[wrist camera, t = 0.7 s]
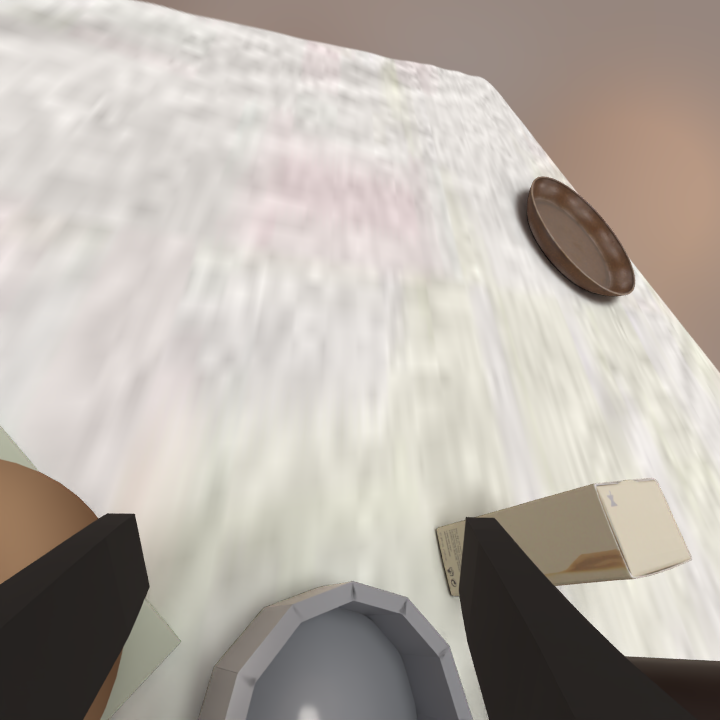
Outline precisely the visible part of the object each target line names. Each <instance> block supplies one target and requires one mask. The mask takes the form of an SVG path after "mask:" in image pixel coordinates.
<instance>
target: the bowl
mask: <svg viewBox="0 0 720 720" xmlns="http://www.w3.org/2000/svg"><path fill="white" fill-rule="evenodd" d="M198 720H473V718H472V715H471V712H470V709H469V706H468V702H467V699H466V696H465V693H464V690H463V687H462V684H461V681H460V677H459V674H458V671H457V668H456V665H455V662H454V659H453V656H452V652H451V649H450V646H449V645H448V644H447V643H446V641H445V640H444V639H443V638H442V637H441V636H440V634H439V633H438V632H437V631H436V630H435V629H434V628H433V626H432V625H431V624H430V623H429V622H428V621H427V619H426V618H425V617H424V616H423V615H422V614H421V613H420V611H419V610H418V609H417V608H416V607H415V606H414V604H413V603H412V602H411V601H410V600H409V599H408V597H405V596H401V595H398V594H395V593H391V592H388V591H384V590H381V589H378V588H374V587H371V586H368V585H364V584H361V583H357V582H354V581H351V582H345V583H339V584H333V585H327V586H322V587H317V588H315V589H312V590H309V591H307V592H304V593H301V594H299V595H296V596H293V597H291V598H288V599H285V600H283V601H280V602H277V603H275V604H272V605H269V606H267V607H264V608H263V609H262V610H261V612H260V613H259V614H258V615H257V616H256V618H255V619H254V620H253V621H252V622H251V623H250V625H249V626H248V627H247V628H246V629H245V631H244V632H243V633H242V634H241V635H240V636H239V638H238V639H237V640H236V641H235V642H234V644H233V645H232V646H231V647H230V648H229V650H228V651H227V652H226V653H225V654H224V655H223V657H222V658H221V659H220V660H219V661H218V663H217V664H216V665H215V666H214V669H213V672H212V675H211V679H210V682H209V685H208V688H207V692H206V695H205V698H204V702H203V705H202V708H201V712H200V715H199V718H198Z"/></svg>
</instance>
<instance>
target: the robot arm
mask: <svg viewBox="0 0 720 720" xmlns="http://www.w3.org/2000/svg"><path fill="white" fill-rule="evenodd" d="M149 587H150V586H149V581H148V576H147V571H146V567H145V562H144V557H143V552H142V547H141V542H140V537H139V532H138V527H137V522H136V518H135V514H106V515H104V516H102V517H101V518H99V519H97V520H96V521H94V522H92V523H91V524H89V525H88V526H86V527H85V528H83V529H82V530H80V531H79V532H77V533H76V534H74V535H73V536H71V537H70V538H68V539H67V540H65V541H64V542H62V543H61V544H59V545H58V546H56V547H55V548H53V549H52V550H51V551H49V552H48V553H46V554H45V555H43V556H42V557H40V558H39V559H37V560H36V561H34V562H33V563H31V564H30V565H28V566H27V567H25V568H24V569H22V570H21V571H19V572H18V573H16V574H15V575H13V576H12V577H10V578H9V579H7V580H6V581H4V582H3V583H1V584H0V720H83V719H84V717H85V716H86V714H87V712H88V710H89V708H90V707H91V705H92V703H93V701H94V699H95V698H96V696H97V694H98V692H99V690H100V689H101V687H102V685H103V683H104V681H105V680H106V678H107V676H108V674H109V672H110V671H111V669H112V667H113V665H114V663H115V661H116V660H117V658H118V656H119V654H120V652H121V650H122V649H123V647H124V645H125V643H126V641H127V639H128V637H129V635H130V633H131V631H132V628H133V626H134V624H135V621H136V619H137V617H138V614H139V612H140V609H141V607H142V604H143V602H144V599H145V597H146V594H147V592H148V589H149ZM459 596H460V602H461V608H462V614H463V620H464V626H465V631H466V637H467V642H468V646H469V649H470V653H471V657H472V660H473V664H474V667H475V671H476V675H477V678H478V682H479V685H480V689H481V692H482V696H483V699H484V703H485V707H486V710H487V714H488V717H489V720H698V719H697V718H695V717H694V716H693V715H692V714H691V713H689V712H688V711H687V710H686V709H684V708H683V707H682V706H681V705H680V704H678V703H677V702H676V701H675V700H674V699H673V698H671V697H670V696H669V695H668V694H667V693H666V692H665V691H663V690H662V689H661V688H660V687H659V686H658V685H657V684H655V683H654V682H653V681H652V680H651V679H650V678H648V677H647V676H646V675H645V674H644V673H643V672H642V671H640V670H639V669H638V668H637V667H636V666H635V665H634V664H633V663H631V662H630V661H629V660H628V659H627V658H626V657H625V656H624V655H623V654H622V653H621V652H620V651H618V650H617V649H616V648H615V647H614V646H613V645H612V644H611V643H610V642H609V641H608V640H607V639H606V638H605V637H604V636H603V635H602V634H601V633H600V632H599V631H598V630H597V629H596V628H595V627H594V626H593V625H592V624H591V623H590V622H589V621H588V620H587V619H586V618H585V617H584V616H583V615H582V614H581V613H580V612H579V611H578V610H577V609H576V608H575V607H574V606H573V605H572V604H571V603H570V602H569V601H568V600H567V599H566V597H565V596H564V595H563V594H562V593H561V592H560V591H559V590H558V589H557V588H556V587H555V586H554V585H553V584H552V582H551V581H550V580H549V579H548V578H547V577H546V576H545V575H544V574H543V573H542V572H541V570H540V569H539V568H538V567H537V566H536V565H535V564H534V563H533V561H532V560H531V559H530V558H529V557H528V556H527V555H526V553H525V552H524V551H523V550H522V549H521V548H520V547H519V545H518V544H517V543H516V542H515V541H514V540H513V538H512V537H511V536H510V535H509V534H508V533H507V531H506V530H505V529H504V528H503V527H502V526H501V524H500V523H499V522H498V521H497V520H496V519H495V518H480V517H466V521H465V531H464V541H463V551H462V561H461V571H460V581H459Z"/></svg>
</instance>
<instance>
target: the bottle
mask: <svg viewBox="0 0 720 720" xmlns="http://www.w3.org/2000/svg"><path fill="white" fill-rule="evenodd" d="M625 657H626V658H627V659H628V660H629V661H630V662H631V663H633V664H634V665H635V666H636V667H637V668H638V669H639V670H640V671H642V672H643V673H644V674H645V675H646V676H647V677H648V678H650V679H651V680H652V681H653V682H654V683H655V684H657V685H658V686H659V687H660V688H661V689H662V690H663V691H665V692H666V693H667V694H668V695H669V696H670V697H671V698H673V699H674V700H675V701H676V702H677V703H678V704H680V705H681V706H682V707H683V708H684V709H686V710H687V711H688V712H689V713H691V714H692V715H693V716H694V717H695V718H697V719H698V720H720V661H706V660H687V659H667V658H647V657H627V656H625Z"/></svg>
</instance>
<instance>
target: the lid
mask: <svg viewBox="0 0 720 720" xmlns="http://www.w3.org/2000/svg"><path fill="white" fill-rule="evenodd" d="M97 519H98V518H97V516H96V515H95V514H94V512H93V511H92V510H91V509H90V508H89V507H88V506H87V505H86V504H85V503H84V502H83V501H82V500H81V499H80V498H79V497H78V496H77V495H75V494H74V493H73V492H71V491H70V490H69V489H67V488H66V487H65V486H63V485H62V484H61V483H59V482H57V481H55V480H53V479H52V478H50V477H48V476H46V475H44V474H42V473H40V472H38V471H36V470H33V469H30V468H28V467H25V466H23V465H20V464H17V463H14V462H10V461H6V460H2V459H0V584H1V583H3V582H4V581H6V580H7V579H9V578H10V577H12V576H13V575H15V574H16V573H18V572H19V571H21V570H22V569H24V568H25V567H27V566H28V565H30V564H31V563H33V562H34V561H36V560H37V559H39V558H40V557H42V556H43V555H45V554H46V553H48V552H49V551H51V550H52V549H53V548H55V547H56V546H58V545H59V544H61V543H62V542H64V541H65V540H67V539H68V538H70V537H71V536H73V535H74V534H76V533H77V532H79V531H80V530H82V529H83V528H85V527H86V526H88V525H89V524H91V523H92V522H94V521H96V520H97ZM122 651H123V649H122V650H121V652H120V654H119V656H118V658H117V660H116V661H115V663H114V665H113V667H112V669H111V671H110V672H109V674H108V676H107V678H106V680H105V681H104V683H103V685H102V687H101V689H100V690H99V692H98V694H97V696H96V698H95V699H94V701H93V703H92V705H91V707H90V708H89V710H88V712H87V714H86V716H85V717H84V719H83V720H100V719H101V717H102V715H103V713H104V710H105V708H106V706H107V703H108V700H109V697H110V694H111V691H112V688H113V685H114V683H115V680H116V677H117V673H118V668H119V664H120V660H121V656H122Z"/></svg>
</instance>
